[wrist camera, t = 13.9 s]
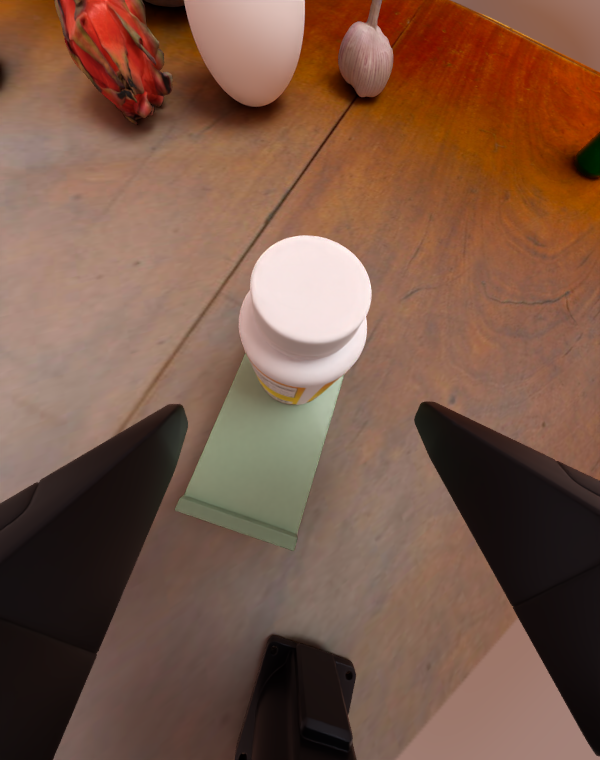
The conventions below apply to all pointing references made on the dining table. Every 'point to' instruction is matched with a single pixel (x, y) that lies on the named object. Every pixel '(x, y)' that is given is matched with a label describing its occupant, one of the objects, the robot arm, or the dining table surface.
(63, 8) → the dragon fruit
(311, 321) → the supplement bottle
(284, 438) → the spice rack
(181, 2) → the bowl
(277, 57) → the decorative ball
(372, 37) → the garlic bulb
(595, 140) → the soda can
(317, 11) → the dining table surface
